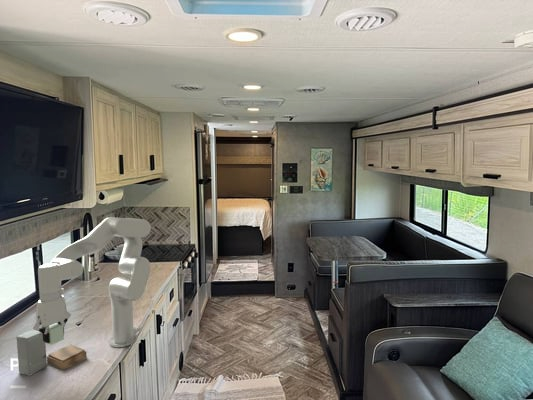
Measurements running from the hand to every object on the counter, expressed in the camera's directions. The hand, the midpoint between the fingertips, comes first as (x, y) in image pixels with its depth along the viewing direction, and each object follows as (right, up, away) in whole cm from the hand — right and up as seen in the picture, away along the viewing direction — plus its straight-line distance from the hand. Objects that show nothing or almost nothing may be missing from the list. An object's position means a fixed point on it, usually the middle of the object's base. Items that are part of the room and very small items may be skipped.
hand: (53, 338), depth 147 cm
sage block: (0, -1, 0) cm, 1 cm away
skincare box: (-13, -16, +7) cm, 21 cm away
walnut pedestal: (-2, -15, +14) cm, 20 cm away
